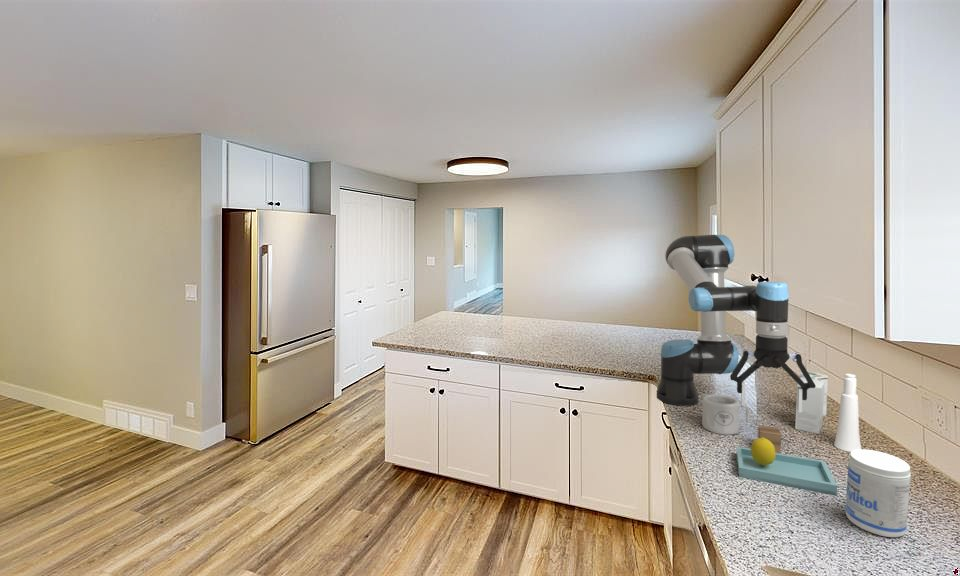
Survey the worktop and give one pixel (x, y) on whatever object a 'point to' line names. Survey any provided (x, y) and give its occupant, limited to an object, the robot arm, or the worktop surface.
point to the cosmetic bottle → (848, 417)
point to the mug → (722, 414)
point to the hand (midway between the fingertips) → (770, 407)
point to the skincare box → (811, 408)
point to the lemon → (763, 451)
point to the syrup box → (824, 378)
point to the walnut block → (771, 436)
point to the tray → (788, 472)
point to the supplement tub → (878, 492)
